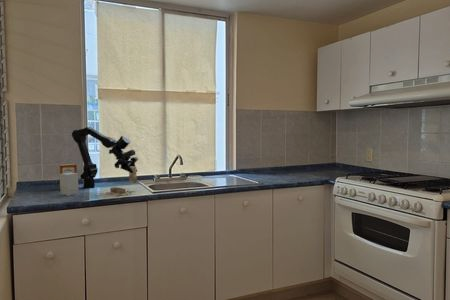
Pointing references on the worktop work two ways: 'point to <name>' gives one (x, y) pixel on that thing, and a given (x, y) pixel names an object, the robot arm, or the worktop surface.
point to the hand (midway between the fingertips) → (134, 172)
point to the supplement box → (69, 183)
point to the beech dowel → (133, 175)
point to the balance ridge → (117, 191)
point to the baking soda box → (68, 168)
